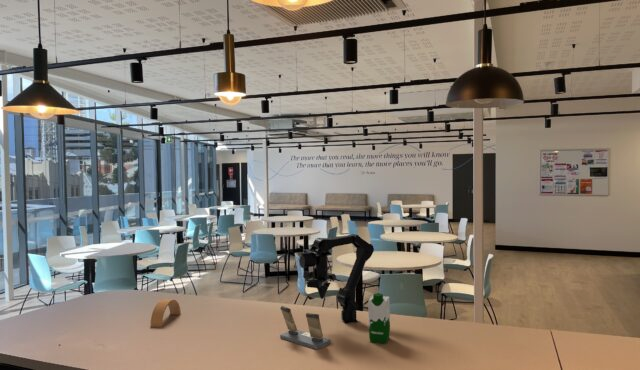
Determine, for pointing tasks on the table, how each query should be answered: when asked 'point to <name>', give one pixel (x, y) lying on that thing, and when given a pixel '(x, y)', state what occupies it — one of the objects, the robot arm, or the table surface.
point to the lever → (288, 318)
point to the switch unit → (305, 339)
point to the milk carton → (379, 318)
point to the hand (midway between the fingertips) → (322, 298)
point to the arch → (160, 309)
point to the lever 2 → (314, 325)
